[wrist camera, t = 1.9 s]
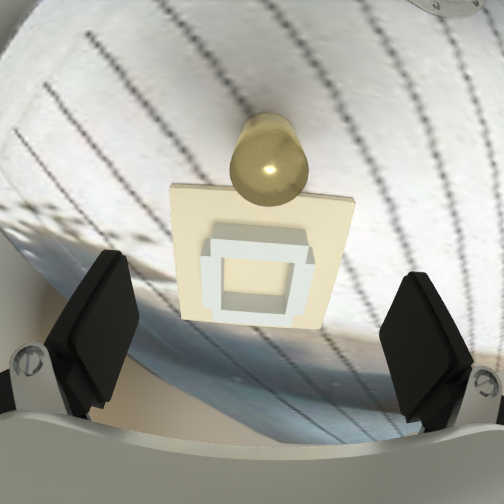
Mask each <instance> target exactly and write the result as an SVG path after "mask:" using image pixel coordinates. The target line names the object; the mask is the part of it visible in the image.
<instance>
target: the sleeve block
mask: <svg viewBox="0 0 504 504" xmlns="http://www.w3.org/2000/svg"><path fill="white" fill-rule="evenodd" d="M169 192H170V208H171V222H172V235H173V246H174V257H175V267H176V276H177V285H178V294H179V302H180V310H181V318H182V319H186V320H195V321H205V322H216V323H227V324H239V325H252V326H266V327H283V328H304V329H320V328H321V325H322V322H323V319H324V316H325V313H326V309H327V306H328V303H329V300H330V296H331V293H332V290H333V287H334V283H335V280H336V276H337V273H338V269H339V266H340V262H341V259H342V255H343V251H344V248H345V244H346V240H347V236H348V232H349V228H350V224H351V220H352V216H353V212H354V208H355V204H356V202H355V201H354V199H353V198H345V197H337V196H328V195H319V194H310V193H300V194H299V195H298V196H297V197H296V198H294V199H293V200H291V201H290V202H288V203H286V204H283V205H280V206H275V207H264V206H259V205H255V204H253V203H250V202H249V201H247V200H245V199H244V198H243V197H242V196H241V195H240V194H239V193H238V192H237V191H236V189H235V188H234V187H225V186H207V185H186V184H172V185H171V186H170V188H169Z"/></svg>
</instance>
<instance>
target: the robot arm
mask: <svg viewBox="0 0 504 504" xmlns="http://www.w3.org/2000/svg"><path fill="white" fill-rule="evenodd" d="M410 1H411V2H412V3H413V4H415V5H417V6H418V7H420V8H422V9H423V10H425V11H427V12H430V13H432V14H434V15H438V16H441V17H444V18H464V17H468V16H471V15H473V14H474V13H476V12H477V11H478V10H479V9H480V8H481V6H482V4H483V2H484V0H410ZM138 322H139V312H138V308H137V304H136V299H135V295H134V291H133V286H132V282H131V277H130V273H129V268H128V263H127V258H126V256H124V255H122V253H121V251H117V250H103V251H102V252H101V254H100V255H99V256H98V258H97V259H96V261H95V262H94V264H93V265H92V266H91V268H90V269H89V271H88V272H87V274H86V275H85V277H84V278H83V280H82V281H81V283H80V284H79V286H78V287H77V289H76V291H75V292H74V294H73V295H72V297H71V298H70V300H69V302H68V303H67V305H66V306H65V308H64V310H63V311H62V313H61V315H60V316H59V318H58V320H57V322H56V323H55V325H54V327H53V328H52V330H51V332H50V334H49V335H48V337H47V339H46V341H45V343H44V345H43V344H41V343H39V342H28V343H25V344H23V345H21V346H19V347H18V348H17V349H16V350H15V351H14V353H13V354H12V356H11V358H10V361H9V369H7V370H5V371H3V372H1V373H0V504H504V396H503V395H502V385H501V381H500V379H499V377H498V375H497V374H496V373H495V372H494V371H493V370H492V369H490V368H488V367H486V366H477V367H475V368H474V369H473V370H472V367H471V364H472V363H473V362H474V361H473V359H472V356H471V354H470V352H469V350H468V348H467V346H466V344H465V342H464V340H463V338H462V336H461V334H460V332H459V330H458V328H457V326H456V324H455V322H454V321H453V319H452V317H451V315H450V313H449V311H448V310H447V308H446V306H445V304H444V302H443V301H442V299H441V297H440V295H439V294H438V292H437V290H436V288H435V287H434V285H433V283H432V282H431V280H430V278H429V277H428V275H427V274H426V273H424V272H409V273H408V275H406V276H404V278H403V280H402V282H401V284H400V287H399V289H398V291H397V294H396V296H395V298H394V300H393V303H392V305H391V307H390V309H389V311H388V313H387V316H386V318H385V320H384V322H383V324H382V326H381V328H380V332H379V338H380V341H381V344H382V348H383V351H384V354H385V357H386V361H387V364H388V367H389V371H390V374H391V378H392V381H393V385H394V388H395V392H396V396H397V399H398V403H399V407H400V411H401V414H402V415H403V416H405V418H406V422H407V423H411V422H417V421H420V420H421V422H422V427H421V429H420V431H419V433H418V435H413V436H407V437H401V438H395V439H389V440H382V441H375V442H367V443H358V444H347V445H334V446H317V447H253V446H236V445H222V444H211V443H202V442H194V441H187V440H180V439H173V438H167V437H161V436H156V435H150V434H145V433H140V432H136V431H131V430H126V429H122V428H117V427H113V426H108V425H105V424H101V423H97V422H93V421H91V419H90V416H89V414H88V412H89V410H90V408H91V406H94V407H97V408H101V409H103V408H104V405H105V402H109V401H110V400H111V397H112V394H113V391H114V388H115V385H116V382H117V379H118V377H119V374H120V371H121V368H122V365H123V362H124V359H125V357H126V354H127V352H128V349H129V346H130V343H131V341H132V338H133V336H134V333H135V330H136V328H137V325H138Z"/></svg>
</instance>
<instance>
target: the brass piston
mask: <svg viewBox="0 0 504 504" xmlns="http://www.w3.org/2000/svg"><path fill="white" fill-rule="evenodd" d="M308 172H309V169H308V162H307V159H306V156H305V154H304V152H303V149H302V147H301V145H300V142H299V140H298V138H297V136H296V133H295V131H294V129H293V127H292V125H291V124H290V123H289V121H288V120H286V119H285V118H284V117H282V116H280V115H278V114H275V113H261V114H257V115H255V116H253V117H252V118H250V119H249V120H248V121H247V122H246V123H245V125H244V126H243V128H242V130H241V133H240V136H239V139H238V142H237V144H236V147H235V150H234V153H233V156H232V159H231V162H230V178H231V181H232V184H233V186H234V188H235V189H236V191H237V192H238V193H239V194H240V195H241V196H242V197H243V198H244V199H245V200H247V201H249V202H250V203H253V204H255V205H259V206H264V207H275V206H280V205H283V204H286V203H288V202H290V201H291V200H293V199H294V198H296V197H297V196H298V195H299V194H300V193H301V191H302V190H303V188H304V186H305V185H306V182H307V179H308Z"/></svg>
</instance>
